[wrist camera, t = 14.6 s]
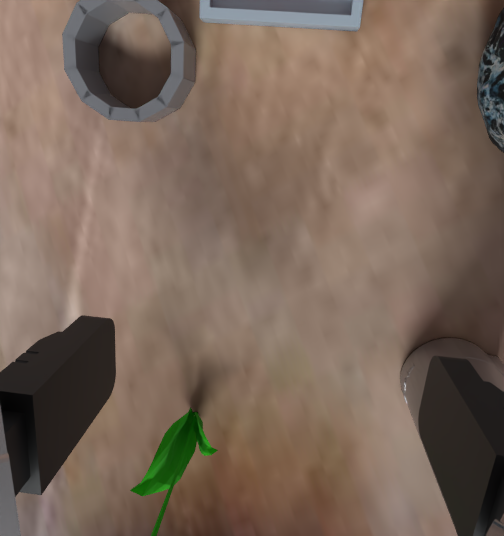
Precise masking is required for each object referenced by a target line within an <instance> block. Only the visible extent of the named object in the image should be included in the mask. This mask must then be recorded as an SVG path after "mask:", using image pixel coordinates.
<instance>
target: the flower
mask: <svg viewBox="0 0 504 536" xmlns="http://www.w3.org/2000/svg"><path fill="white" fill-rule="evenodd" d="M196 442H198V444H199V449H200V451H201V453H202V454H204V455H212V454H213V453H215V452H216V451H217V450H216V449H214V448H212V447H211V446H210V444H209V442H208V440H207V438H206V437H205V434H204V432H203V422H202V420H201V418H200V417H199V415H198V412H192V409H191V407H190V410H189V412H188V413H187V414H185V415H184V416H183V417H182V418H180V419H179V420H178V421H176V422H175V423H174V424H173V425H172V426H171V427H170V428H169V429H168V431H167V432H166V433H165V435H164V437H163V439H162V441H161V444H160V446H159V448H158V450H157V452H156V455H155V457H154V460H153V462H152V464H151V466H150V468H149V470H148V472H147V474H146V475H145V477H144V478H143V480H142V482H141V483H139V484H138V485H137V486H135V487H134V488H133V489H131V490H130V491H132V492H134V493H137V494H139V495H141V496H145V495H149V494H153V493H156V492H160V491H163V490H166V489H169V490H168V493H167V495H166V498H165V501H164V503H163V506H162V508H161V511H160V514H159V516H158V519H157V522H156V524H155V527H154V529H153V532H152V535H151V536H156V535H157V533H158V530H159V527H160V524H161V521H162V518H163V515H164V512H165V509H166V506H167V504H168V501H169V498H170V495H171V492H172V489H173V486H174V485H175V484H176V483H177V482H178V481H179V480H180V478H181V477H182V474H183V472H184V470H185V468H186V466H187V465H188V463H189V461H190V459H191V457H192V456H193V454H194V452H195V447H196Z"/></svg>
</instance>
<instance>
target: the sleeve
mask: <svg viewBox="0 0 504 536" xmlns="http://www.w3.org/2000/svg"><path fill="white" fill-rule="evenodd" d="M128 13H142V14H153V15H155V16H156V17H158V18H159V20H160V22H161V25H162V27H163V29H164V31H165V33H166V35H167V37H168V39H169V41H170V43H171V74H170V76H169V78H168V80H167V81H166V83H165V85H164V87H163V89H162V90H161V92H160V94H159V96H158V97H157V98H155V99H153V100H151V101H150V102H148V103H146V104H144V105H142V106H141V107H139V108H137V109H133V108H129V107H128V106H126V105H125V104H124V103H122V102H121V101H119V100H118V99H116V98H115V97H113V96H112V95H111V94H110V92H109V90H108V88H107V86H106V84H105V83H104V81H103V79H102V77H101V75H100V73H99V54H98V47H99V45H100V43H101V41H102V38H103V36H104V34H105V32H106V30H107V28H108V26H109V25H110V24H112V23H113V22H115V21H116V20H118V19H120V18H121V17H123V16H125V15H126V14H128ZM62 36H63V53H64V70H65V72H66V74H67V75H68V77H69V79H70V81H71V83H72V85H73V86H74V88H75V90H76V92H77V94H78V95H79V97H80V99H81V101H82V102H84V103H85V104H87V105H88V106H90V107H91V108H93V109H94V110H96V111H97V112H99V113H100V114H101V115H103V116H104V117H106V118H107V119H109V120H122V121H135V122H156V121H158V120H160V119H161V118H163V117H165V116H167V115H169V114H171V113H172V112H174V111H176V110H178V109H180V108H181V106H182V104H183V103H184V101H185V99H186V97H187V96H188V94H189V92H190V90H191V89H192V87H193V85H194V84H195V71H196V49H195V47H194V45H193V42H192V40H191V38H190V36H189V34H188V32H187V30H186V28H185V26H184V23H183V21H182V20H181V19H180V18H179V17H178V16H177V15H176V14H174V13H173V12H172V11H171V10H170V9H169V8H167V7H166V6H165V5H163V4H162V3H161V2H159V1H158V0H80V1H78V2H77V3H76V6H75V8H74V10H73V12H72V14H71V16H70V19H69V21H68V23H67V25H66V27H65V29H64V32H63V34H62Z"/></svg>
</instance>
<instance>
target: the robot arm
mask: <svg viewBox="0 0 504 536" xmlns="http://www.w3.org/2000/svg"><path fill="white" fill-rule="evenodd" d="M115 376H116V363H115V326H114V322H113V320H112V319H110V318H101V317H92V316H80V317H79V318H78V319H77V320H75V321H74V322H73V323H72V324H71V325H70V326H69V327H67V328H66V329H65V330H64V331H63V332H56V333H54V334H52V335H50V336H47V337H45V338H43V339H40V340H39V341H37V342H36V343H35V344H34V345H33V346H31V347H30V348H29V349H28V350H27V351H26V353H23V354H22V355H21V356H19V357H18V358H17V359H16V361H15V362H12V363H11V364H10V365H8V366H7V367H6V368H5V369H4V370H2V371H1V372H0V536H21V534H20V527H19V520H18V514H17V507H16V500H15V497H16V495H17V494H18V493H19V492H23V493H30V494H37V495H42V493H43V492H44V490H45V489H46V488H47V486H48V485H49V483H50V482H51V480H52V479H53V478H54V476H55V475H56V473H57V472H58V470H59V469H60V468H61V466H62V465H63V463H64V462H65V460H66V459H67V457H68V456H69V455H70V453H71V452H72V450H73V449H74V447H75V446H76V445H77V443H78V442H79V440H80V439H81V437H82V436H83V435H84V433H85V432H86V430H87V429H88V427H89V426H90V425H91V423H92V422H93V420H94V419H95V417H96V416H97V414H98V413H99V412H100V410H101V409H102V407H103V406H104V404H105V403H106V402H107V400H108V399H109V397H110V395H111V393H112V390H113V387H114V383H115ZM400 383H401V389H402V392H403V394H404V398H405V401H406V403H407V405H408V407H409V410H410V413H411V416H412V418H413V421H414V423H415V426H416V429H417V431H418V434H419V436H420V439H421V441H422V444H423V447H424V449H425V452H426V454H427V457H428V460H429V462H430V465H431V467H432V470H433V473H434V475H435V478H436V480H437V483H438V486H439V488H440V491H441V493H442V496H443V498H444V501H445V503H446V506H447V509H448V511H449V514H450V516H451V519H452V521H453V524H454V527H455V529H456V532H457V534H458V536H504V364H503V362H502V361H501V360H500V359H499V358H498V357H497V356H491V355H488V354H486V353H485V352H484V351H483V350H482V349H480V348H479V347H478V346H476V345H475V344H473V343H471V342H469V341H466V340H462V339H457V338H442V339H437V340H433V341H430V342H428V343H426V344H424V345H422V346H420V347H419V348H418V349H416V350H415V351H414V352H413V353H412V354H411V355H410V356H409V357H408V358H407V360H406V362H405V363H404V365H403V368H402V371H401V376H400Z"/></svg>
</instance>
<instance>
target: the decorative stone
mask: <svg viewBox="0 0 504 536" xmlns="http://www.w3.org/2000/svg"><path fill="white" fill-rule="evenodd" d="M477 99H478V106H479V109H480V111H481V114H482V117H483V119H484V122H485V125H486V129H487V132H488V135H489V138H490V140H491V141H492V143H493V144H495V145H496V146H497V147H498V148H499V149H500V150H501V151H502V152H504V8H503V10H502V11H501V13H500V15H499V16H498V19H497V22H496V24H495V27H494V29H493V32H492V34H491V36H490V38H489V40H488V42H487V44H486V47H485V49H484V51H483V54H482V57H481V61H480V64H479V72H478V82H477Z"/></svg>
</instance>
